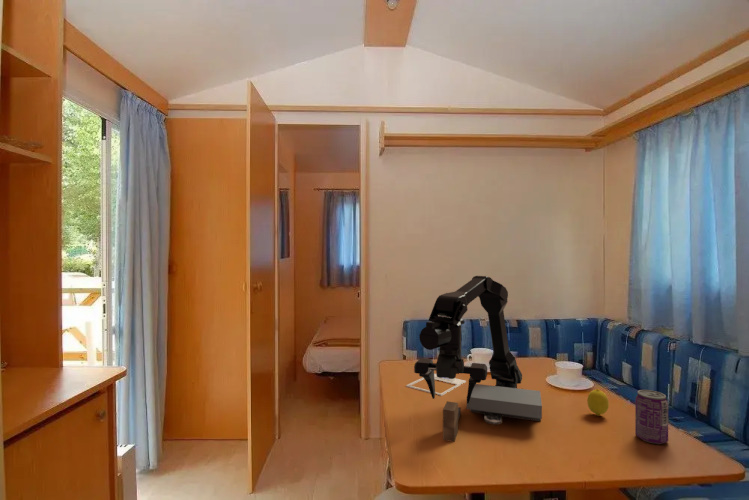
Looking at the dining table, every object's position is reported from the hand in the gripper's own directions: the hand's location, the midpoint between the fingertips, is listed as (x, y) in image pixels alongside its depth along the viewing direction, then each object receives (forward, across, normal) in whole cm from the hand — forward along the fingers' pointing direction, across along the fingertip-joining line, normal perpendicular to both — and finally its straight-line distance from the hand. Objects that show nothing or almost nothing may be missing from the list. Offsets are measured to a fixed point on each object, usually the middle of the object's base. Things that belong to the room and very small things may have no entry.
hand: (450, 400), depth 109 cm
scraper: (+10, 0, +6) cm, 11 cm away
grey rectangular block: (+10, +13, +16) cm, 22 cm away
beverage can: (+10, +50, +16) cm, 53 cm away
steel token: (+10, +10, +14) cm, 19 cm away
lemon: (+10, +39, +28) cm, 49 cm away
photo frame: (+10, -12, +39) cm, 42 cm away
